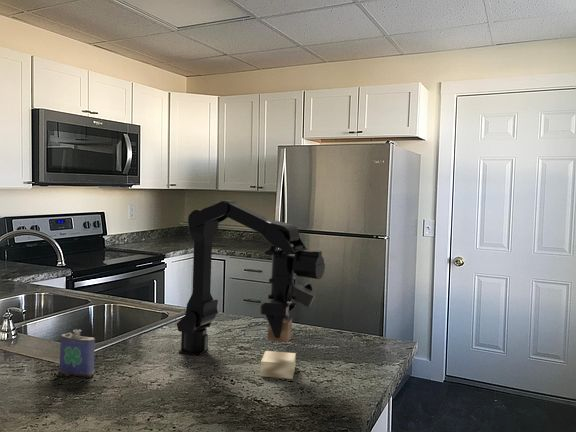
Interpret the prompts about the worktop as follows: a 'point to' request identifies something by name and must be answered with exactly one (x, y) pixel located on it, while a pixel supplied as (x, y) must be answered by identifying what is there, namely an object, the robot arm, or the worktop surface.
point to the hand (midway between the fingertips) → (279, 334)
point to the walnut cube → (282, 331)
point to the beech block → (278, 364)
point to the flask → (77, 354)
